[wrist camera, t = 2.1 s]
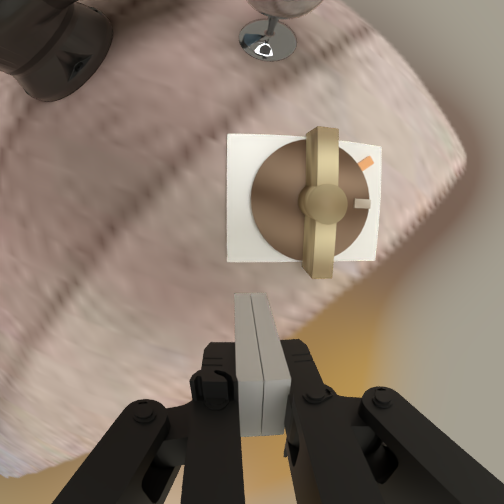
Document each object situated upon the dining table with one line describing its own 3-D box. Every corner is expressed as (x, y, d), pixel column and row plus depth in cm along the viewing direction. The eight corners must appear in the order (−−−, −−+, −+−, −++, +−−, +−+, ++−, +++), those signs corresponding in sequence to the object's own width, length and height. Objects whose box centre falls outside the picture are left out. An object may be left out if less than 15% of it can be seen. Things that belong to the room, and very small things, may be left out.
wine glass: (300, 67, 27) (344, 0, 12) (233, 62, 26) (235, -16, 11) (299, 20, 25) (333, -51, 10) (237, 14, 24) (241, -64, 10)
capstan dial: (251, 133, 27) (255, 120, 21) (364, 143, 28) (391, 136, 22) (249, 262, 30) (253, 281, 24) (358, 261, 31) (382, 277, 25)
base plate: (227, 136, 28) (227, 132, 26) (375, 147, 29) (383, 146, 27) (227, 258, 32) (226, 263, 30) (369, 257, 33) (377, 261, 31)
